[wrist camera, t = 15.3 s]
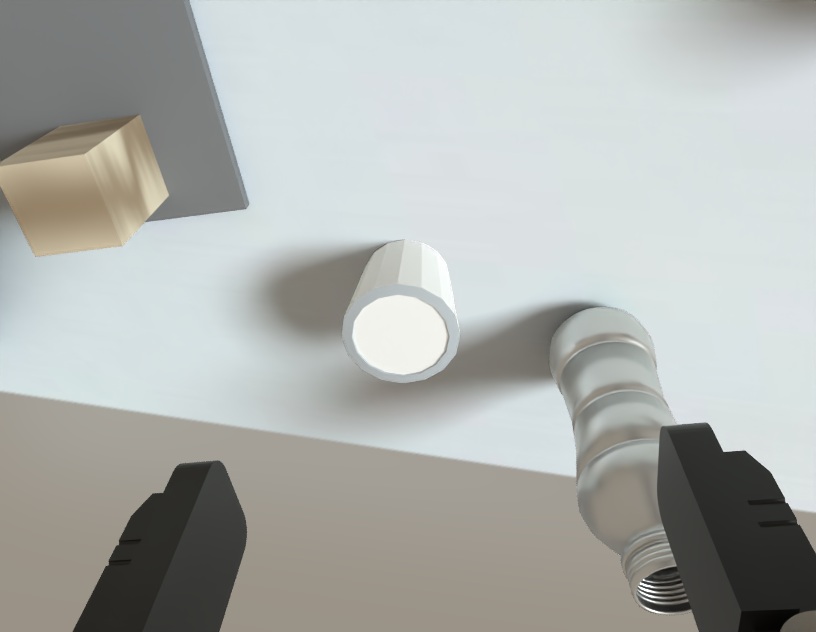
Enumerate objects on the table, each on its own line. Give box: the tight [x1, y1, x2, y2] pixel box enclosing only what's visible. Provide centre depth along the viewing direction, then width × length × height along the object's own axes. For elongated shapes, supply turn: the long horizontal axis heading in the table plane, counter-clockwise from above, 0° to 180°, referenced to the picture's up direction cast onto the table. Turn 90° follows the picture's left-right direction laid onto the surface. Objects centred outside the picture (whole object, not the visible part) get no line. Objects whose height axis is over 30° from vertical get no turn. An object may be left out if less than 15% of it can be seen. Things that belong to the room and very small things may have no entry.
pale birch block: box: [0, 114, 169, 257], centre depth 38 cm, size 5×5×7 cm
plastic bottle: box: [549, 307, 692, 615], centre depth 38 cm, size 6×7×20 cm
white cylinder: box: [342, 239, 461, 383], centre depth 42 cm, size 7×7×7 cm
